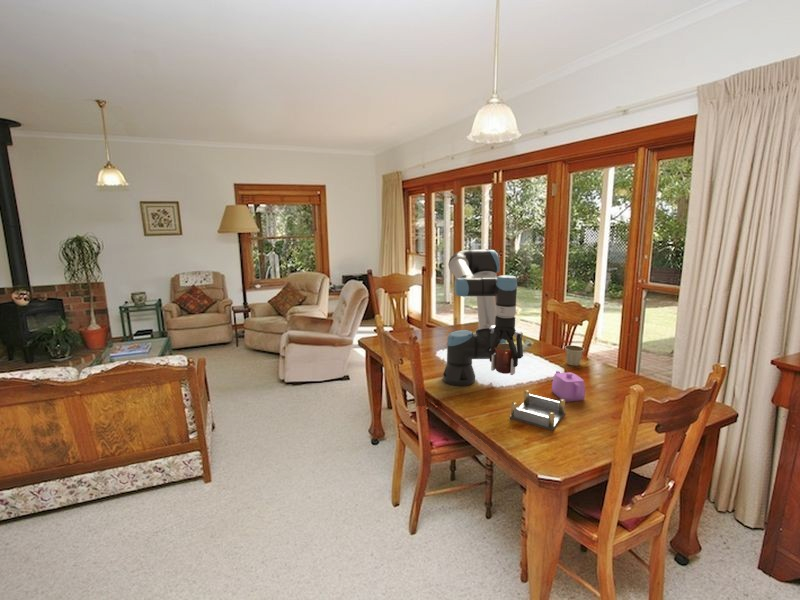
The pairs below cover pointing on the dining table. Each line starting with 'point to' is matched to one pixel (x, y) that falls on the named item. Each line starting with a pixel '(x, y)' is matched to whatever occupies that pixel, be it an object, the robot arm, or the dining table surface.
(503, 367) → the mug
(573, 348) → the flower pot
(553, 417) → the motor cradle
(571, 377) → the teapot
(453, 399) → the dining table surface
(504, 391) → the dining table surface
